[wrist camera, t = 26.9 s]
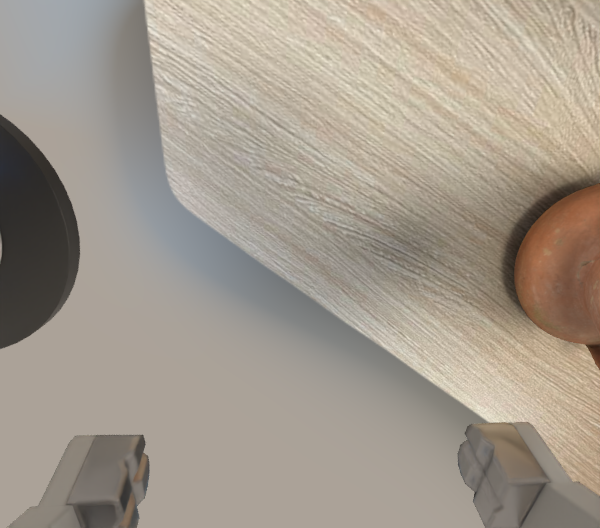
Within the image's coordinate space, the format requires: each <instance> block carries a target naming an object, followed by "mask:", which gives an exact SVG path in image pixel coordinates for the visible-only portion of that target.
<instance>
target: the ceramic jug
mask: <svg viewBox="0 0 600 528" xmlns="http://www.w3.org/2000/svg"><path fill="white" fill-rule="evenodd" d="M514 280H515V288H516V292H517V296H518V299H519V301H520V304H521V306H522V308H523V309H524V311H525V313H526V314H527V315H528V317H529V318H530V319H531V320H532V321H533V322H534V323H535V324H536V325H537V326H538V327H540V328H541V329H542V330H544V331H545V332H547V333H548V334H550V335H552V336H554V337H557V338H560V339H562V340H566V341H569V342H574V343H580V344H585V345H586V346H587V347H588V349H589V351H590V353H591V354H592V357H593V359H594V361H595V364H596V365H597V366H598V368H599V369H600V183H598V184H596V185H593V186H589V187H586V188H584V189H581V190H579V191H576V192H574V193H572V194H570V195H568V196H566V197H564V198H563V199H561V200H560V201H558V202H557V203H555V204H554V205H552V206H551V207H550V208H549V209H547V210H546V211H545V212H544V213H543V214H542V215H541V216H540V217H539V218H538V219H537V221H536V222H535V223H534V224H533V225H532V227H531V228H530V229H529V231H528V232H527V234H526V236H525V237H524V239H523V241H522V243H521V246H520V248H519V251H518V254H517V257H516V262H515V269H514Z"/></svg>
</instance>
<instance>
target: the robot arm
mask: <svg viewBox="0 0 600 528" xmlns="http://www.w3.org/2000/svg"><path fill="white" fill-rule="evenodd" d="M1 257H2V239H1V234H0V262H1ZM465 435H466V437H467V439H468V440H466V441H465V442H464V443H463V444H461V445H460V448H459V451H458V466H459V469H460V473H461V476H462V478H463V480H464V482H465V484H466V485H467V486H468V487H470V488H471V489H472V490H473V491H474V492H475V494H474V499H473V502H474V504H475V507H476V508H477V511H478V513H479V515H480V517H481V519H482V521H483V524H484V526H485V528H600V496H598V495H597V494H596V493H594V492H593V491H591V490H590V489H588V488H587V487H586V486H584V485H583V484H581V483H580V482H573V481H572V480H571V478H570V477H569V476H568V474H567V473H566V471H565V470H564V469H563V467H562V466H561V464H560V463H559V462H558V460H557V459H556V457H555V456H554V455H553V453H552V452H551V450H550V449H549V447H548V446H547V445H546V443H545V442H544V440H543V439H542V438H541V436H540V435H539V433H538V432H537V431H536V429H535V428H534V427H533V426H532V425H531V424H530V423H528V422H515V423H506V422H501V423H481V424H471V425H469V426H468V427H467V429H466V432H465ZM144 448H145V440H144V436H143V435H79V436H75V437H74V438H73V439H72V440H71V441H70V442H69V444H68V446H67V448H66V450H65V452H64V454H63V456H62V458H61V460H60V462H59V464H58V466H57V468H56V470H55V473H54V475H53V477H52V479H51V481H50V483H49V485H48V487H47V489H46V491H45V493H44V495H43V497H42V499H41V501H40V503H39V505H38V506H35V507H30V508H29V509H28V510H26V511H25V512H24V513H23V514H22V515H21V516H19V517H18V518H17V519H16V520H15V521H14V522H13V523H12V524H10V525H9V526H8V527H7V528H137V525H138V521H139V514H138V509H137V506H138V505H139V503H140V502H141V501H142V500H143V499H144V498H145V495H146V491H147V487H148V480H149V459H148V456H147V455H146V454H145V453H143V451H144Z"/></svg>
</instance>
